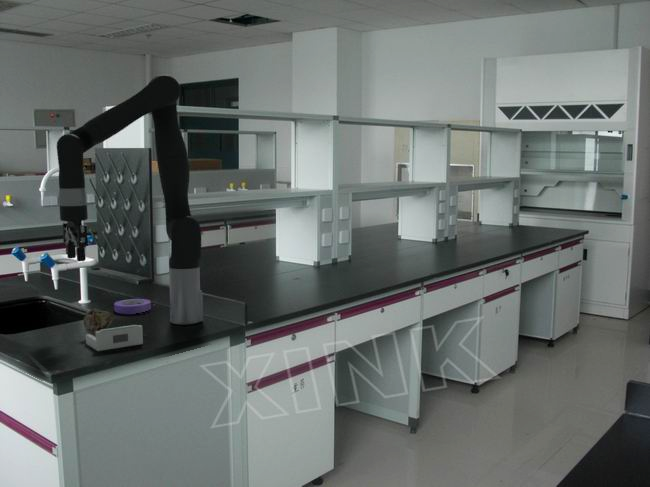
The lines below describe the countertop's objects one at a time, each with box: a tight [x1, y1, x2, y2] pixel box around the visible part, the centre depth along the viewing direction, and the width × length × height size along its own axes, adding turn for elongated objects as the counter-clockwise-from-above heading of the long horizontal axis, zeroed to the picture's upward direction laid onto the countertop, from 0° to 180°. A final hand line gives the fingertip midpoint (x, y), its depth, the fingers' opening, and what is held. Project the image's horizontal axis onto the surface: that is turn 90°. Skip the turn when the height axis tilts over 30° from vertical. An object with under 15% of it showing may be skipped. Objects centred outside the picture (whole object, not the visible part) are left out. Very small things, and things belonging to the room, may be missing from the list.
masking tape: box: [113, 298, 152, 315], centre depth 224 cm, size 12×12×4 cm
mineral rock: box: [83, 307, 115, 337], centre depth 194 cm, size 11×4×8 cm, turn 154°
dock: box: [85, 324, 144, 352], centre depth 185 cm, size 12×10×5 cm
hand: (76, 259), depth 197 cm, fingers open, 8 cm apart
